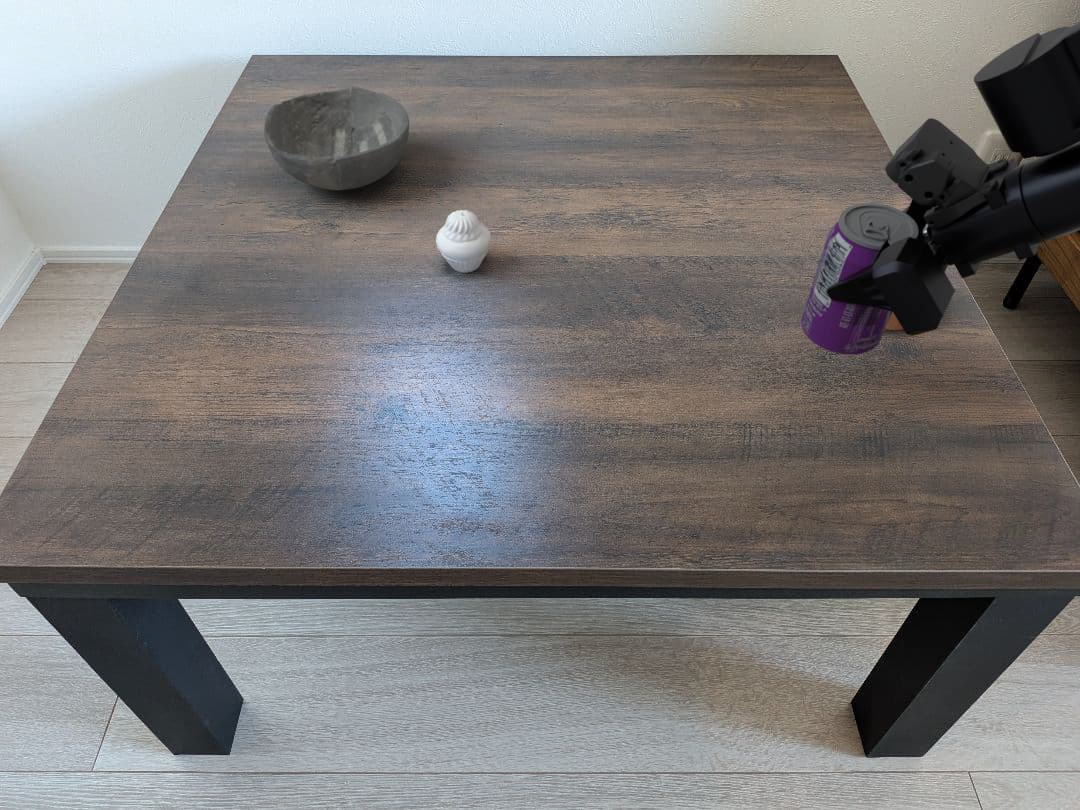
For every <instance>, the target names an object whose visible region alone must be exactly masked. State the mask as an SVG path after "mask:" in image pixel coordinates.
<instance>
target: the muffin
mask: <svg viewBox="0 0 1080 810" xmlns="http://www.w3.org/2000/svg"><path fill="white" fill-rule="evenodd" d="M435 244H436V247H437V249H438V251H439V252H440V254H441V256H442V257H443V259H444V260H445V261H446V262H447V263H448V264H449V265H450V267H451V268H452V269H453V270H454V271H456V272H458V273H464V274H465V273H466V274H467V273H471V272H475V271H477V270H478V268H480V266H481V264H482V263H483V261H484V259H485V258H486V255H487V254H488V252H489V249H490V246H491V244H492V235H491V232H490V230H489V228H488V227H486V225H484V224H483V223H481V222H480V221H479V218H478V215H476V214H475V213H474V212H473V211H470V210H468V209H464V210H463V209H460V210H458V209H457V210H455V211H452V212H451V213H450V214H448V216H447V218H446V220H445V224H444V225H443V226H442V227H441V228H440V229H439V231H438V232H437V234H436V236H435Z"/></svg>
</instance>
